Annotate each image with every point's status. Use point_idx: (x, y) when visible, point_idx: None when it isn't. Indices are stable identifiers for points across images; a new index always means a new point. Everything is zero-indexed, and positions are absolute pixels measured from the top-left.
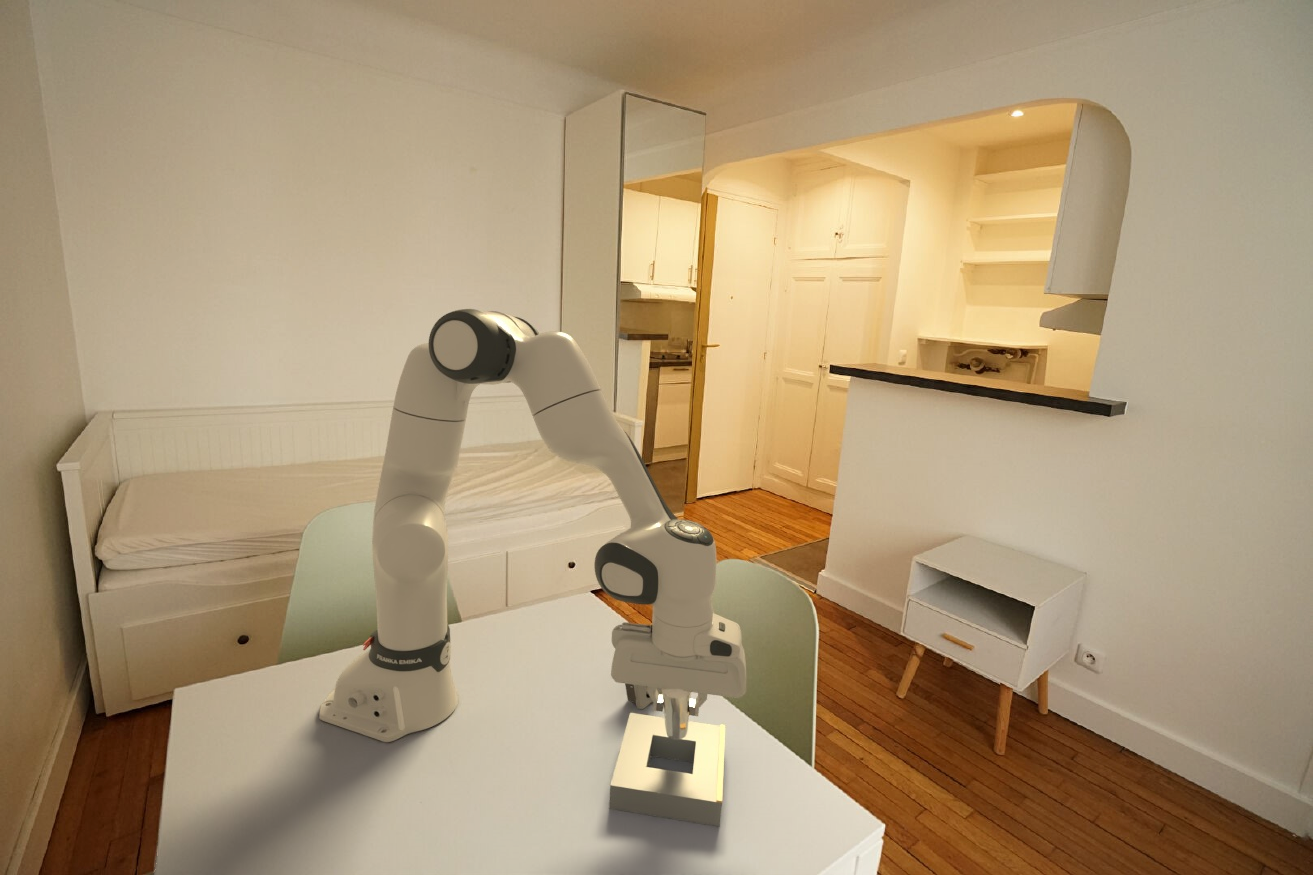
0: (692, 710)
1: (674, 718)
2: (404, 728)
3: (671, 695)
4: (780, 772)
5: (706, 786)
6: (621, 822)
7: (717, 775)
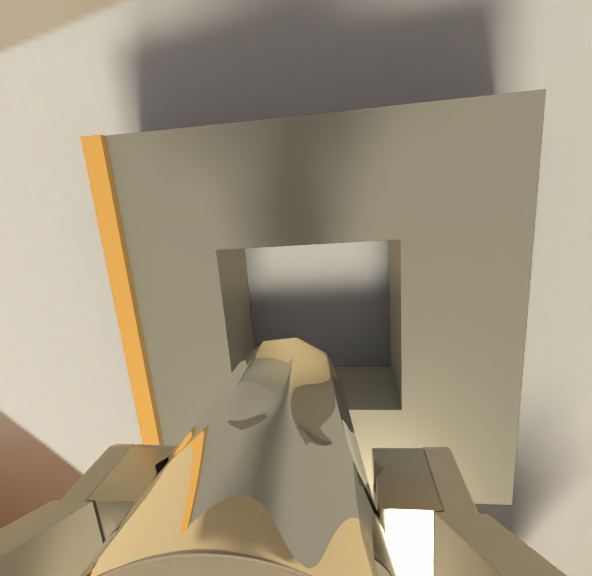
0: (130, 472)
1: (268, 393)
2: None
3: None
4: (32, 380)
5: (154, 201)
6: (442, 67)
7: (130, 266)
